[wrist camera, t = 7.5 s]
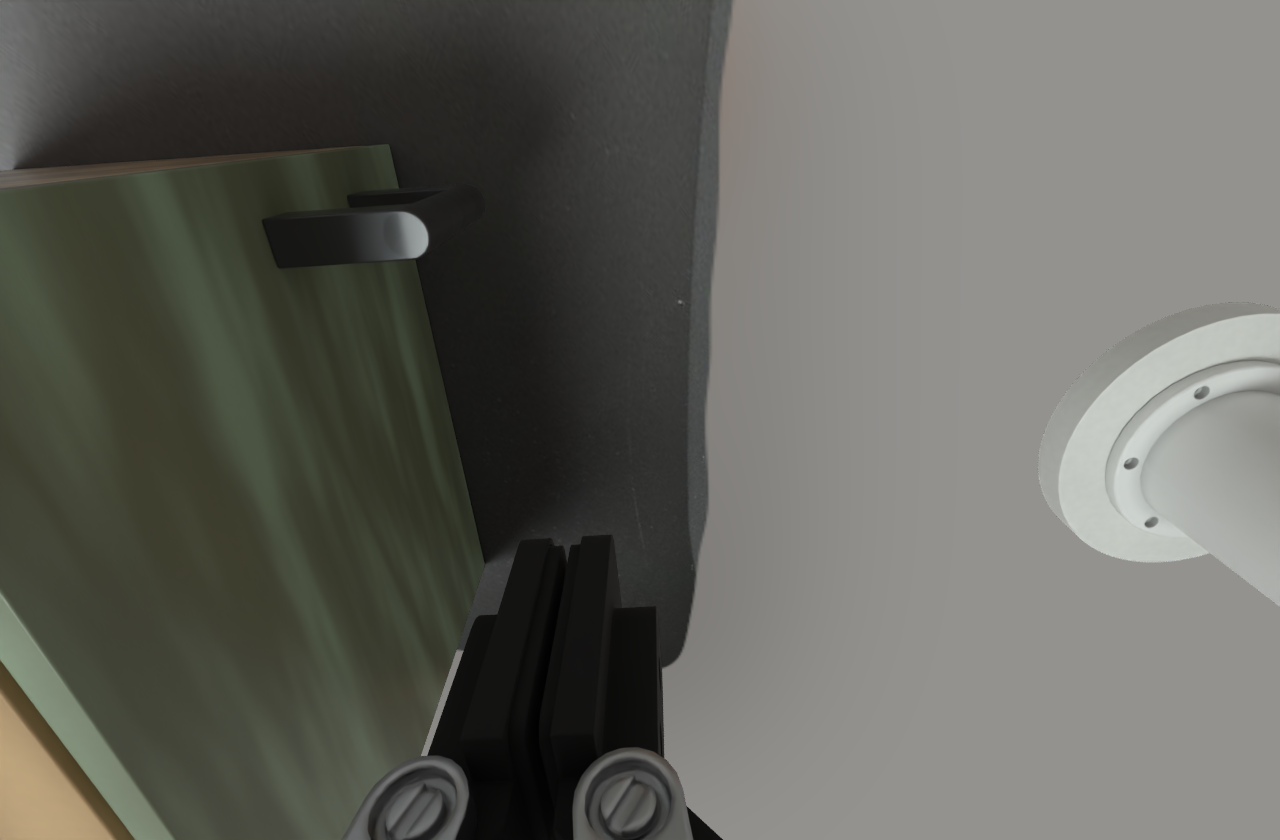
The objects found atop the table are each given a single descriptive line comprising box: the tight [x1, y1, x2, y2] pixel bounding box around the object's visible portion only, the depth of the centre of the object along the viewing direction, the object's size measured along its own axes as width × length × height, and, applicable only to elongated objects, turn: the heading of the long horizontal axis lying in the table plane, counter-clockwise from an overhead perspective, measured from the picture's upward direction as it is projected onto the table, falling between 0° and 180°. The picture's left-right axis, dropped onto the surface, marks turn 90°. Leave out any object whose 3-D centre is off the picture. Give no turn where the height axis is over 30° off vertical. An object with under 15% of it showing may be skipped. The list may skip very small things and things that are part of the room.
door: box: [0, 144, 485, 840], centre depth 25 cm, size 6×26×24 cm, turn 4°
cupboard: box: [0, 146, 360, 840], centre depth 25 cm, size 18×26×24 cm
